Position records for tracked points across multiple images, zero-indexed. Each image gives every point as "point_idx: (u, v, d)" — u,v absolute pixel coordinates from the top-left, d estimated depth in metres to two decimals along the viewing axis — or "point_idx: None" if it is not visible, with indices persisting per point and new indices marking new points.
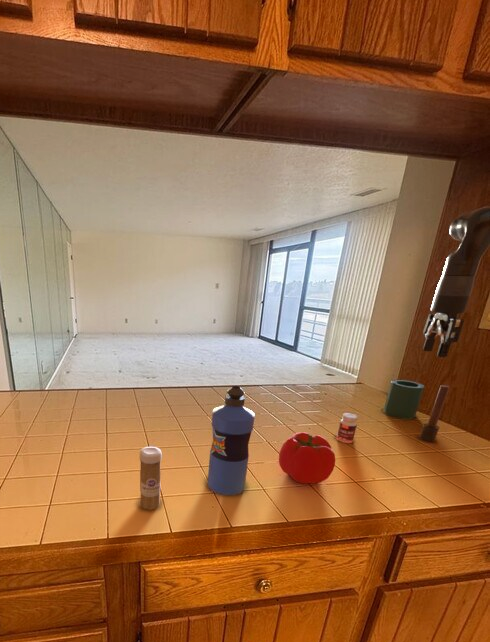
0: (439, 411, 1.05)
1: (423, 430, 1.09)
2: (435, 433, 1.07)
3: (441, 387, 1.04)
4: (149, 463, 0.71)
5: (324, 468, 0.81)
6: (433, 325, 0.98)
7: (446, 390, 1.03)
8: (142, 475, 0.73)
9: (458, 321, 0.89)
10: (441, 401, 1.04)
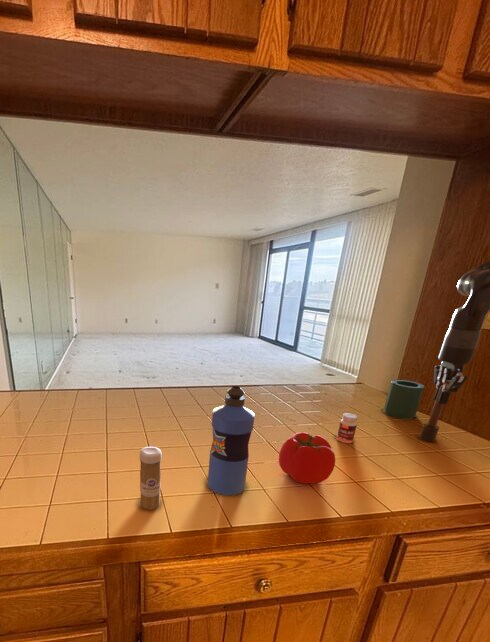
0: (439, 411, 1.05)
1: (423, 430, 1.09)
2: (435, 433, 1.07)
3: (441, 387, 1.04)
4: (149, 463, 0.71)
5: (324, 468, 0.81)
6: (442, 372, 1.03)
7: None
8: (142, 475, 0.73)
9: (461, 379, 0.96)
10: None
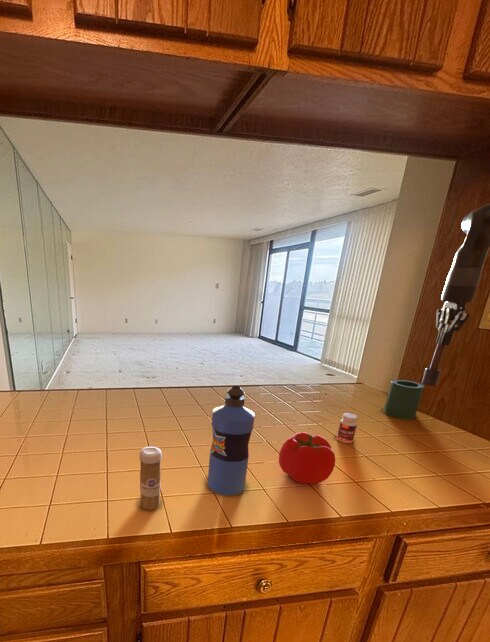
0: (441, 353, 1.07)
1: (425, 374, 1.11)
2: (437, 376, 1.09)
3: (443, 328, 1.05)
4: (149, 463, 0.71)
5: (324, 468, 0.81)
6: (444, 314, 1.05)
7: None
8: (142, 475, 0.73)
9: (464, 316, 0.98)
10: None
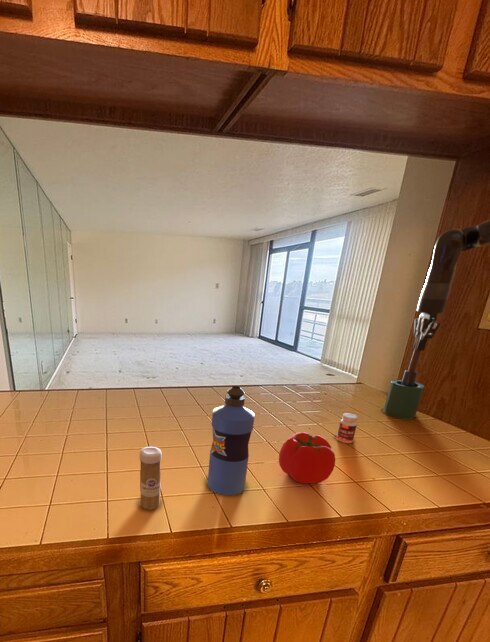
0: (418, 357, 1.22)
1: (404, 375, 1.25)
2: (414, 377, 1.24)
3: (419, 336, 1.20)
4: (149, 463, 0.71)
5: (324, 468, 0.81)
6: (419, 323, 1.19)
7: None
8: (142, 475, 0.73)
9: (435, 325, 1.12)
10: None
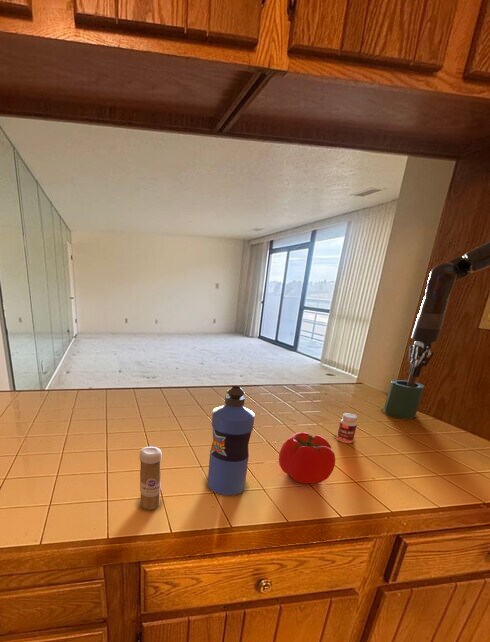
0: (413, 383, 1.25)
1: None
2: None
3: (414, 363, 1.23)
4: (149, 463, 0.71)
5: (324, 468, 0.81)
6: (414, 350, 1.22)
7: None
8: (142, 475, 0.73)
9: (429, 354, 1.15)
10: None
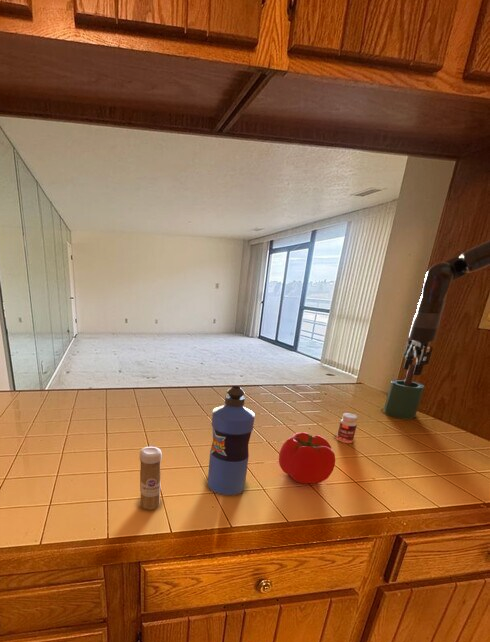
0: None
1: None
2: None
3: (410, 366, 1.24)
4: (149, 463, 0.71)
5: (324, 468, 0.81)
6: (410, 349, 1.24)
7: None
8: (142, 475, 0.73)
9: (428, 348, 1.15)
10: (410, 377, 1.25)
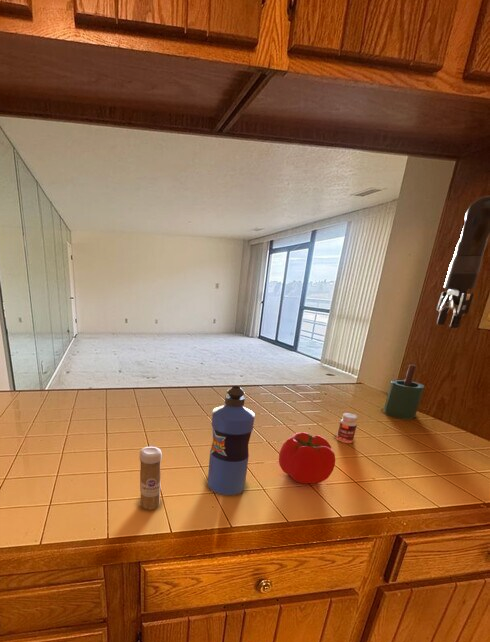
0: None
1: None
2: None
3: (410, 366, 1.24)
4: (149, 463, 0.71)
5: (324, 468, 0.81)
6: (446, 301, 1.12)
7: (414, 368, 1.23)
8: (142, 475, 0.73)
9: (468, 295, 1.03)
10: (410, 377, 1.25)
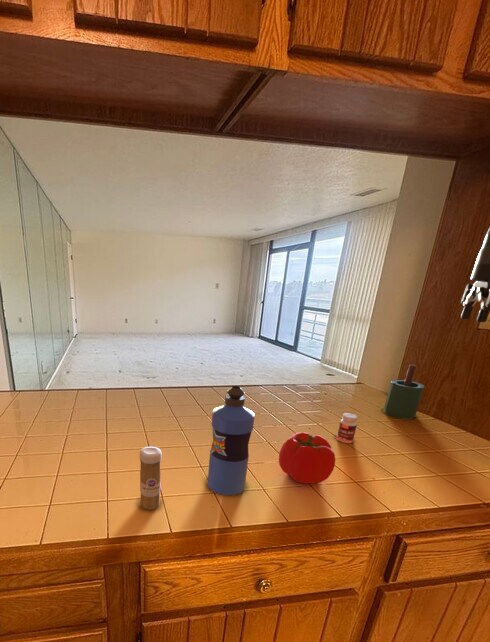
0: None
1: None
2: None
3: (410, 366, 1.24)
4: (149, 463, 0.71)
5: (324, 468, 0.81)
6: (472, 293, 1.06)
7: (414, 368, 1.23)
8: (142, 475, 0.73)
9: None
10: (410, 377, 1.25)
